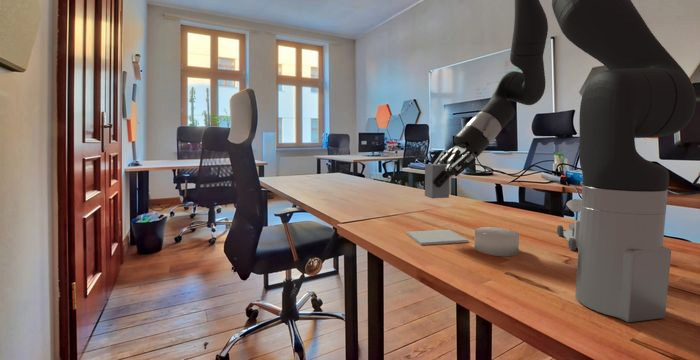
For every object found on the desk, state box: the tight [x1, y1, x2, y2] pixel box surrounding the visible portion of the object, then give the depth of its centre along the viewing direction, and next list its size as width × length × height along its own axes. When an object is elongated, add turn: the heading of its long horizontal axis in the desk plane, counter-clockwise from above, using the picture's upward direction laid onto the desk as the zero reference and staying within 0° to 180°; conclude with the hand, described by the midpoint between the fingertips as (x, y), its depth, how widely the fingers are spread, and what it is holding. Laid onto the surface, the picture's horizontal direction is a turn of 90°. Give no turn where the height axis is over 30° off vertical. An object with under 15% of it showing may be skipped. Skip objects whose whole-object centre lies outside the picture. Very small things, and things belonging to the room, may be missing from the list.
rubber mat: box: [405, 228, 469, 246], centre depth 83 cm, size 10×12×1 cm
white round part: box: [473, 226, 520, 257], centre depth 74 cm, size 9×9×4 cm
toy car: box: [556, 198, 582, 252], centre depth 78 cm, size 18×10×12 cm
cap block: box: [424, 163, 450, 199], centre depth 82 cm, size 4×4×8 cm
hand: (431, 183), depth 82 cm, fingers closed on cap block, 4 cm apart
